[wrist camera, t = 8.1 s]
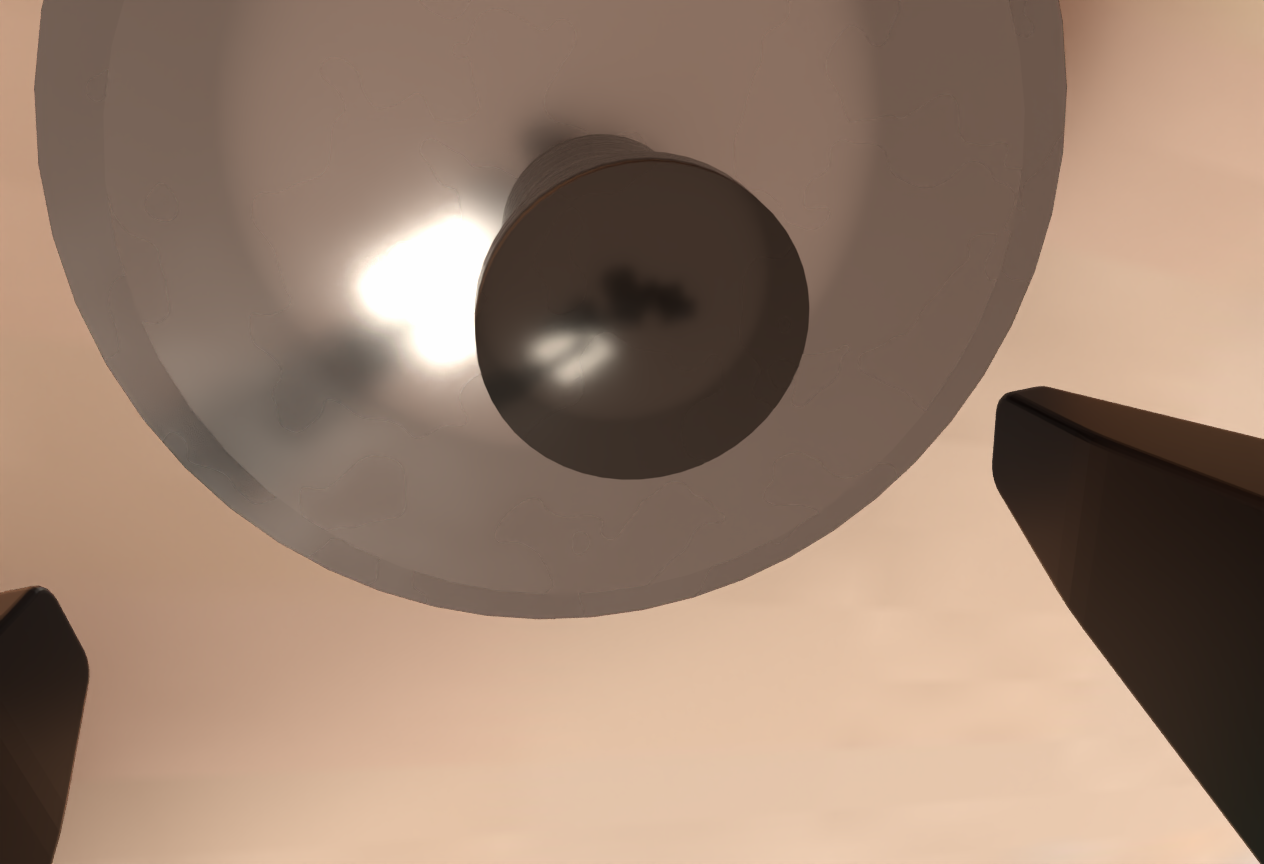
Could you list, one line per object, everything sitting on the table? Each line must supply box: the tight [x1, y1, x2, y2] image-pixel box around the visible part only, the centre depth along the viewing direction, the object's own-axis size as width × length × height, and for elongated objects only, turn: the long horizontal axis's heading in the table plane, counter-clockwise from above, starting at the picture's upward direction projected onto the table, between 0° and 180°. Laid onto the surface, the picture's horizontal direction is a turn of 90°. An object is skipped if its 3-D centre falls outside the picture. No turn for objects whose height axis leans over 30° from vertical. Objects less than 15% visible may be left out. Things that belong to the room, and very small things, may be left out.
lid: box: [34, 0, 1067, 619], centre depth 14 cm, size 16×16×5 cm
